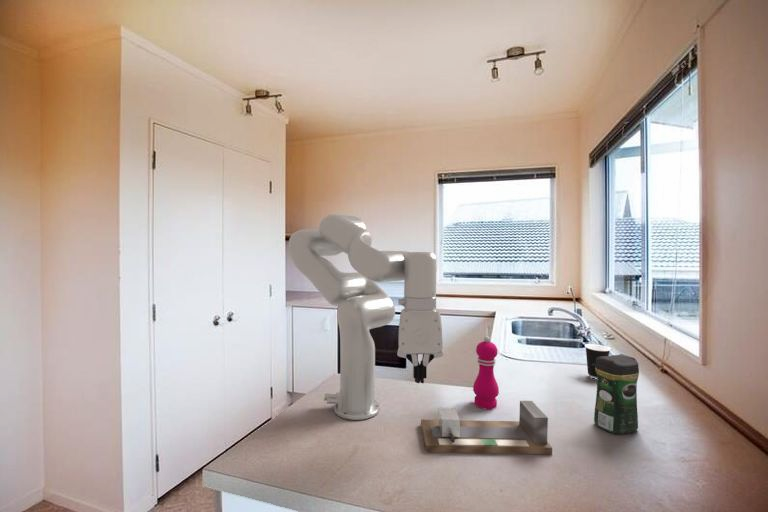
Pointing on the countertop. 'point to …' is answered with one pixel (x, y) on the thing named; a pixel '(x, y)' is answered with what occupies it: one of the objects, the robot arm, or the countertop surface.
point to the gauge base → (494, 434)
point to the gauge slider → (449, 423)
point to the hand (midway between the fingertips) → (419, 381)
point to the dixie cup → (594, 357)
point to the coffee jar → (616, 394)
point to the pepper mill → (486, 375)
